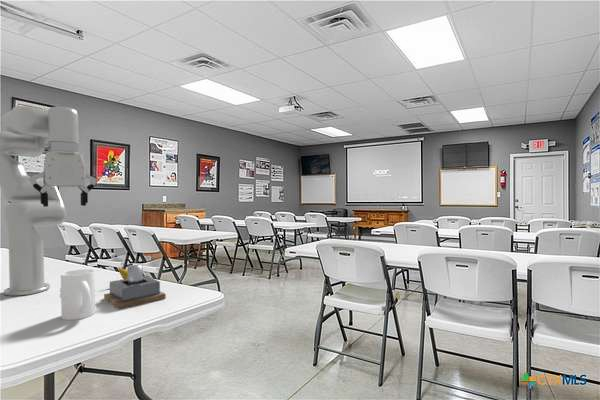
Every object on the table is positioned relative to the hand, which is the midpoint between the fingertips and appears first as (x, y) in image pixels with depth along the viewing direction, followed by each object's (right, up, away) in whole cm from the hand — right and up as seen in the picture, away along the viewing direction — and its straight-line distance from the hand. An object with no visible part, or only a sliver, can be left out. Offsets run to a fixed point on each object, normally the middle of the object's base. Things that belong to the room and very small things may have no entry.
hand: (65, 206), depth 104 cm
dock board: (+18, -30, +7) cm, 36 cm away
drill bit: (+7, -30, +25) cm, 39 cm away
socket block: (+18, -29, +7) cm, 34 cm away
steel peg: (+18, -29, +7) cm, 34 cm away
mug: (+10, -31, -9) cm, 34 cm away
